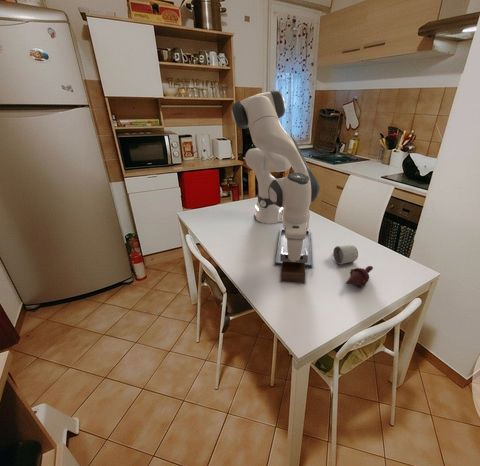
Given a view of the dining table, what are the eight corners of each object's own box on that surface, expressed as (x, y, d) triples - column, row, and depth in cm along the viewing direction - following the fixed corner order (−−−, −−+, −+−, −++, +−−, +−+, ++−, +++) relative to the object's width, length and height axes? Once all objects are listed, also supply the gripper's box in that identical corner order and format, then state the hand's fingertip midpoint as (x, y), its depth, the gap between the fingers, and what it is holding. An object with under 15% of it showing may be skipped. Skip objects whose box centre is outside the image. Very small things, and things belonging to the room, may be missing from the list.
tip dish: (307, 265, 93) (308, 256, 93) (279, 263, 94) (280, 254, 93) (306, 255, 108) (306, 247, 107) (281, 254, 109) (282, 246, 108)
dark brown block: (304, 283, 100) (305, 273, 97) (280, 281, 100) (281, 271, 98) (304, 269, 108) (305, 259, 105) (282, 268, 108) (282, 258, 106)
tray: (311, 268, 109) (311, 264, 108) (275, 265, 110) (275, 262, 109) (309, 233, 136) (309, 230, 135) (280, 231, 137) (280, 228, 137)
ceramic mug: (358, 264, 111) (360, 248, 108) (341, 267, 109) (343, 251, 105) (343, 252, 120) (346, 237, 117) (328, 255, 118) (330, 240, 114)
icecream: (358, 284, 90) (381, 271, 98) (342, 269, 94) (366, 258, 103) (350, 297, 94) (373, 283, 102) (335, 282, 98) (358, 271, 107)
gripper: (288, 210, 98) (286, 242, 104) (284, 236, 80) (283, 272, 86) (304, 210, 97) (302, 242, 104) (305, 237, 79) (302, 274, 86)
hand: (294, 256), depth 95 cm, fingers closed on tip dish, 3 cm apart
